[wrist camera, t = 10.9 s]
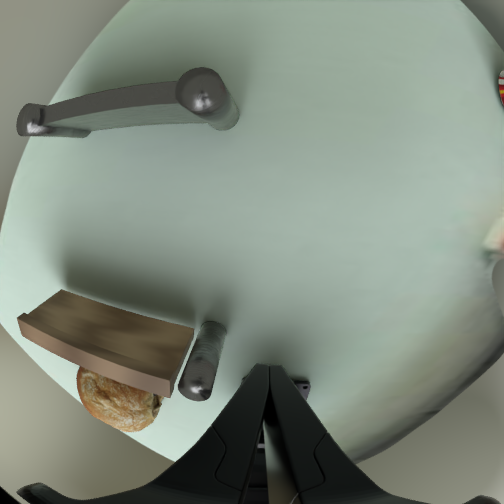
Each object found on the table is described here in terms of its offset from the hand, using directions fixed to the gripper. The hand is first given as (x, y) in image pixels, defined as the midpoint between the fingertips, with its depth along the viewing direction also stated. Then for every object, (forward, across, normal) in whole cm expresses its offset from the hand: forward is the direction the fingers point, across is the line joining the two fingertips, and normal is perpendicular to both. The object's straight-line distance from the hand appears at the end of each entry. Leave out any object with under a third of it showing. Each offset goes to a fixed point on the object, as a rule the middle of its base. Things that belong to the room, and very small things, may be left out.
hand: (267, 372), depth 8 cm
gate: (+11, +12, +6) cm, 18 cm away
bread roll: (+12, +15, +16) cm, 25 cm away
